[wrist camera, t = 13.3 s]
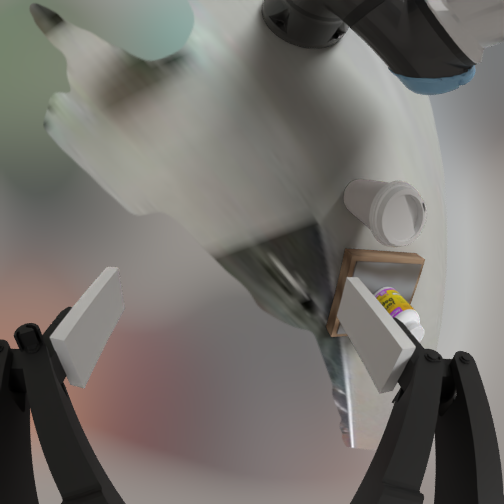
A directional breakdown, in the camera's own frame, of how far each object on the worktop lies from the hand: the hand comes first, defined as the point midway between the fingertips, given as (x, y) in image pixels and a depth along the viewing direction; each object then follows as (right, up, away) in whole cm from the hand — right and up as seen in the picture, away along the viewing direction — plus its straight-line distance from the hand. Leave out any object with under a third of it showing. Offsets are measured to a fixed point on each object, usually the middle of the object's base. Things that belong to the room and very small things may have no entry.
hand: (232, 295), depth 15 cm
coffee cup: (+20, +12, +31) cm, 39 cm away
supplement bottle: (+27, -7, +35) cm, 45 cm away
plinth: (+27, -6, +39) cm, 47 cm away
